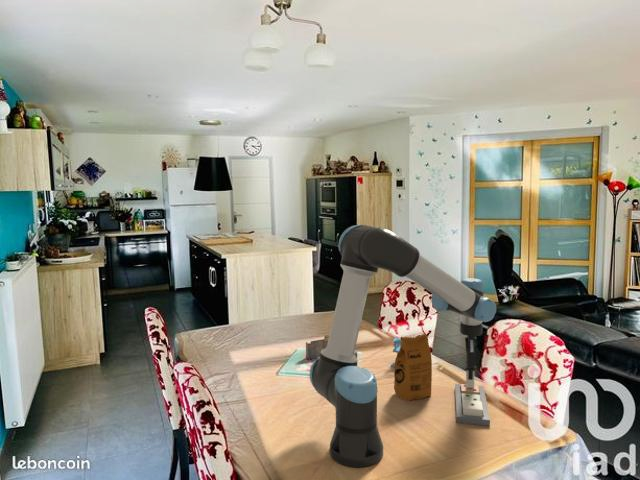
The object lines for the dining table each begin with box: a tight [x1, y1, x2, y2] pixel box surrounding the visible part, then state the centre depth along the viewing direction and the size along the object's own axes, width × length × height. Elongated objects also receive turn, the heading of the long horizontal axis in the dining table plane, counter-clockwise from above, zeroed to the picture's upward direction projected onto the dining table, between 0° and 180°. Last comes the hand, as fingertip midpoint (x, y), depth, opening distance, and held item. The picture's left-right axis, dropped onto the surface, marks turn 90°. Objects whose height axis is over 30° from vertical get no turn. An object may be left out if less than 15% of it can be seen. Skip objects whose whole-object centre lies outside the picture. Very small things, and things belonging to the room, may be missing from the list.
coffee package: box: [393, 332, 433, 402], centre depth 173 cm, size 10×12×22 cm
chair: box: [390, 337, 402, 369], centre depth 202 cm, size 8×8×12 cm
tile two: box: [461, 393, 481, 404], centre depth 164 cm, size 6×6×3 cm
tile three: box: [460, 383, 479, 395], centre depth 172 cm, size 6×6×3 cm
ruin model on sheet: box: [305, 334, 330, 361], centre depth 214 cm, size 11×3×10 cm, turn 115°
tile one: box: [461, 400, 483, 417], centre depth 156 cm, size 6×6×3 cm
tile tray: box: [454, 383, 491, 427], centre depth 164 cm, size 26×10×2 cm, turn 166°
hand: (470, 386), depth 172 cm, fingers closed
